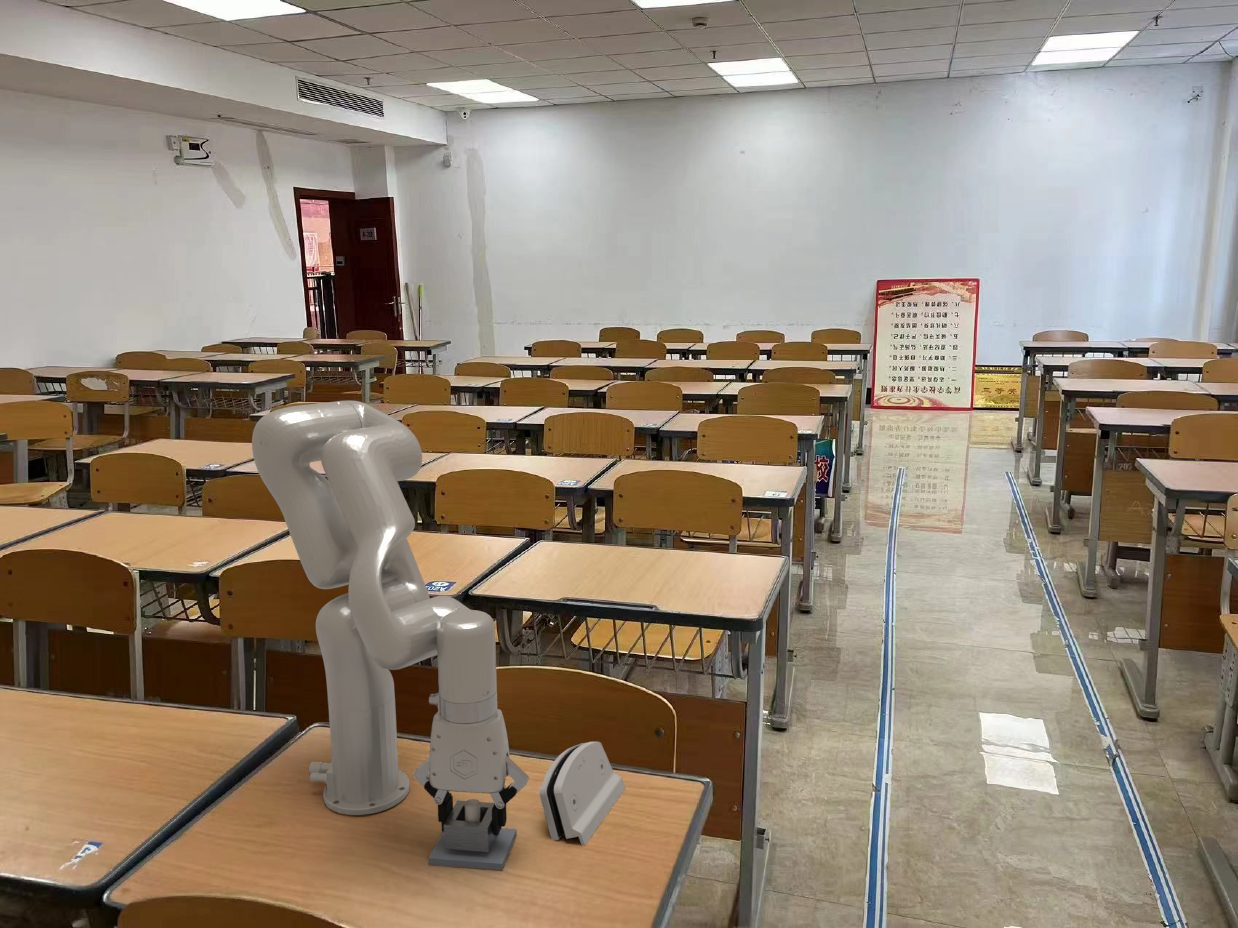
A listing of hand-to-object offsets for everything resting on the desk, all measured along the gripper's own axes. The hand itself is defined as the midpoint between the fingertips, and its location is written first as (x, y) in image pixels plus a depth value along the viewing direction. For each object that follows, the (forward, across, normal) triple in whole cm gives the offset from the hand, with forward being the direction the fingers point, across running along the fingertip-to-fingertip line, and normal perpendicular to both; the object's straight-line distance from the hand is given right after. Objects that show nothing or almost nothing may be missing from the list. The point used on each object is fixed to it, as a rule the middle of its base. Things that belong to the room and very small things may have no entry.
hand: (472, 826), depth 126 cm
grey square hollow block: (+2, 0, 0) cm, 2 cm away
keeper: (+3, 0, 0) cm, 3 cm away
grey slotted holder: (+4, +13, +11) cm, 18 cm away
